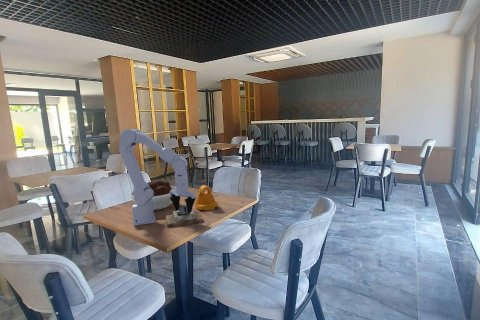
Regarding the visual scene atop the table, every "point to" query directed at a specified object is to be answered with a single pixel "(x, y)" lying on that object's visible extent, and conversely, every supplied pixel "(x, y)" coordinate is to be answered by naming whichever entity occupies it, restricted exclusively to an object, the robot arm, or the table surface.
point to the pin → (183, 210)
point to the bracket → (205, 199)
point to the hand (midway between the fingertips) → (183, 211)
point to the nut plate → (183, 218)
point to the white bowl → (160, 194)
